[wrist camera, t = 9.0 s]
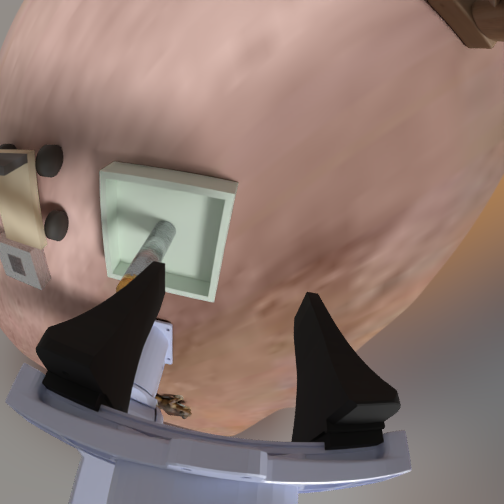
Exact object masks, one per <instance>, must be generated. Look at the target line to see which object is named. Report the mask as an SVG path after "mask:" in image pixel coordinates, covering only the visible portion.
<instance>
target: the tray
mask: <svg viewBox="0 0 504 504" xmlns="http://www.w3.org/2000/svg"><path fill="white" fill-rule="evenodd" d="M99 176H100V206H101V222H102V234H103V244H104V252H105V260H106V268H107V275H108V277H110V278H114V279H118V280H121V279H122V277H123V276H124V274H125V272H126V271H127V269H128V267H129V266H130V264H131V262H132V261H133V259H134V258H135V256H136V254H137V253H138V251H139V250H140V248H141V247H142V245H143V243H144V242H145V240H146V239H147V237H148V236H149V234H150V233H151V231H152V230H153V228H154V227H155V225H156V224H157V223H158V222H159V221H162V220H165V221H169V222H171V223H172V224H173V225H174V227H175V229H176V235H175V237H174V239H173V241H172V243H171V244H170V246H169V248H168V250H167V252H166V254H165V256H164V258H163V260H162V262H161V263H165V292H169V293H173V294H177V295H182V296H186V297H191V298H195V299H200V300H204V301H209V302H214V299H215V295H216V290H217V286H218V280H219V275H220V270H221V265H222V260H223V254H224V249H225V244H226V239H227V234H228V229H229V225H230V220H231V215H232V210H233V205H234V201H235V196H236V191H237V187H238V182H234V181H229V180H224V179H219V178H214V177H209V176H204V175H199V174H193V173H188V172H182V171H176V170H170V169H164V168H158V167H151V166H145V165H138V164H131V163H123V162H115V161H114V162H112V163H111V164H109V165H108V166H106V167H104V168H103V169H101V170H100V171H99Z"/></svg>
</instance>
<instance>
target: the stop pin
mask: <svg viewBox="0 0 504 504" xmlns="http://www.w3.org/2000/svg"><path fill="white" fill-rule="evenodd" d="M175 235H176V229H175V227H174V225H173V224H172V223H171V222H169V221H165V220H162V221H159V222H158V223H157V224H156V225H155V227H154V228H153V230H152V231H151V233H150V234H149V236H148V237H147V239H146V240H145V242H144V243H143V245H142V247H141V248H140V250H139V251H138V253H137V254H136V256H135V258H134V259H133V261H132V262H131V264H130V266H129V267H128V269H127V271H126V272H125V274H124V276H123V277H122V279H121V281H120V282H119V284H118V286H117V288H116V292H118V291H119V290H121V289H122V288H123V287H124V286H126V285H127V284H128V283H129V282H130V281H132V280H133V279H134V278H135V277H136V276H137V275H139V274H140V273H141V272H142V271H143V270H144V269H145V268H146V267H147V266H148V265H149V264H151V263H152V262H153V261H157V262H162V260H163V258H164V256H165V254H166V252H167V250H168V248H169V246H170V244H171V243H172V241H173V239H174V237H175Z"/></svg>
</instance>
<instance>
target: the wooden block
mask: <svg viewBox="0 0 504 504" xmlns="http://www.w3.org/2000/svg"><path fill="white" fill-rule="evenodd" d="M428 2H429V4H430V5H431V6H432V7H433V8H434V9H435V10H436V11H437V12H438V13H439V14H440V15H441V16H442V17H443V19H444V20H445V21H446V22H447V23H448V24H449V25H450V26H451V28H452V29H453V30H454V31H455V32H456V33H457V35H458V36H459V37H460V38H461V40H462V41H463V42H464V43H465V45H466V46H467V47H468V48H486V49H491V48H493V47H494V45H495V44H496V42H497V41H504V0H428Z"/></svg>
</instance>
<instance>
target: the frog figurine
mask: <svg viewBox="0 0 504 504" xmlns="http://www.w3.org/2000/svg"><path fill="white" fill-rule="evenodd" d="M174 397H175V399H171V398H169V397H164V396H155V399H157V404H156V407H158V408H159V409H163V410H164V411H165V412H166V413H167V414H168V415H174V416H182V418H183V419H186V418H187V417H188V416H191V412H190V411H191V409H190V407H187V406H184V405H182V404H180V403H178V401H179V400H183V399H184V398H183V397H182V396H180V395H174Z"/></svg>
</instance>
